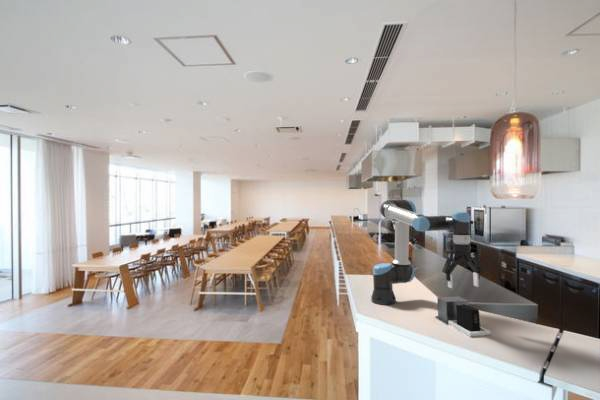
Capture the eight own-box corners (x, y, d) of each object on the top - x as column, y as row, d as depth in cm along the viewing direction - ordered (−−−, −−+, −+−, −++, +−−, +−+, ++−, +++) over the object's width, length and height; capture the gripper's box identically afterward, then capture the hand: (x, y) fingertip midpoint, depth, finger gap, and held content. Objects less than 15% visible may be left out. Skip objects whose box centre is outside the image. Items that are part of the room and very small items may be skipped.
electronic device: (472, 332, 141) (471, 310, 141) (456, 325, 150) (456, 304, 151) (480, 331, 142) (479, 309, 142) (464, 324, 151) (463, 303, 152)
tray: (448, 324, 153) (448, 320, 153) (466, 322, 154) (466, 319, 154) (469, 336, 137) (469, 332, 137) (490, 335, 139) (490, 331, 139)
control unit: (435, 317, 163) (434, 297, 163) (459, 316, 165) (458, 295, 165) (446, 324, 153) (445, 302, 154) (472, 322, 155) (471, 300, 155)
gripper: (442, 245, 145) (443, 290, 145) (490, 243, 148) (492, 287, 148) (433, 243, 153) (435, 286, 152) (479, 241, 156) (481, 283, 155)
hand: (463, 286), depth 150 cm, fingers open, 13 cm apart
